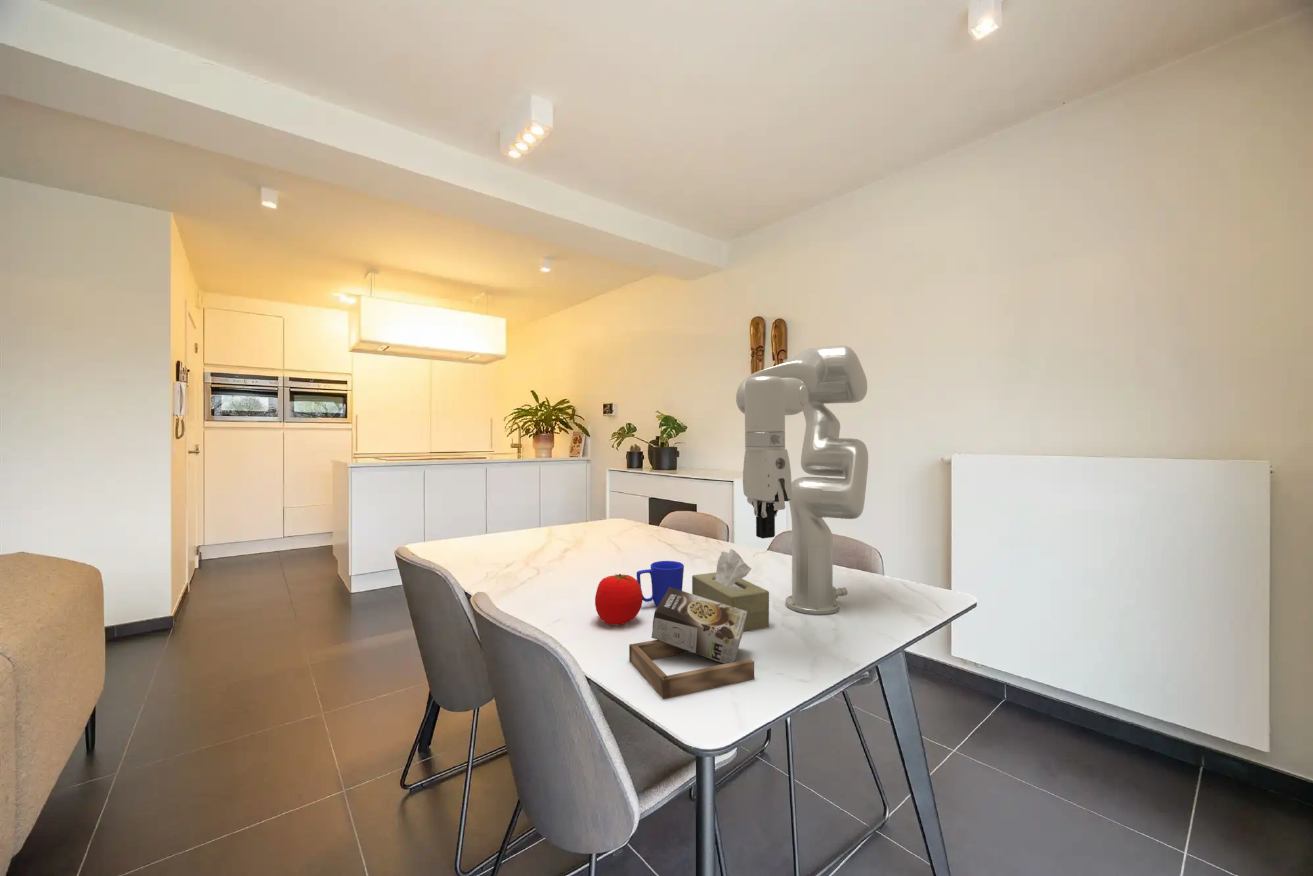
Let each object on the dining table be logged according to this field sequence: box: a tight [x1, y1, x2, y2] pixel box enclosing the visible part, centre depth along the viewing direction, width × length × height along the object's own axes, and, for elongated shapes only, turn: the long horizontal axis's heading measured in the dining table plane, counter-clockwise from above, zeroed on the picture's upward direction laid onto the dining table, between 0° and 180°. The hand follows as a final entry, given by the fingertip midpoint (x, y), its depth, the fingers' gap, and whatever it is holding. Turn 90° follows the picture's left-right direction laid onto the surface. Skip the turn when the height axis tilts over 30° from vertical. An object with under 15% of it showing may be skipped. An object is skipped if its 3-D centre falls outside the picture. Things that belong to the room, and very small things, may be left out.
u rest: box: [628, 639, 755, 700], centre depth 94 cm, size 17×15×3 cm
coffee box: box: [650, 587, 747, 664], centre depth 100 cm, size 9×6×16 cm
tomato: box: [594, 573, 644, 626], centre depth 117 cm, size 10×11×11 cm
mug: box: [636, 560, 685, 607], centre depth 128 cm, size 8×12×10 cm
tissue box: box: [691, 548, 770, 633], centre depth 121 cm, size 19×10×16 cm, turn 23°
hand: (765, 536), depth 100 cm, fingers closed
